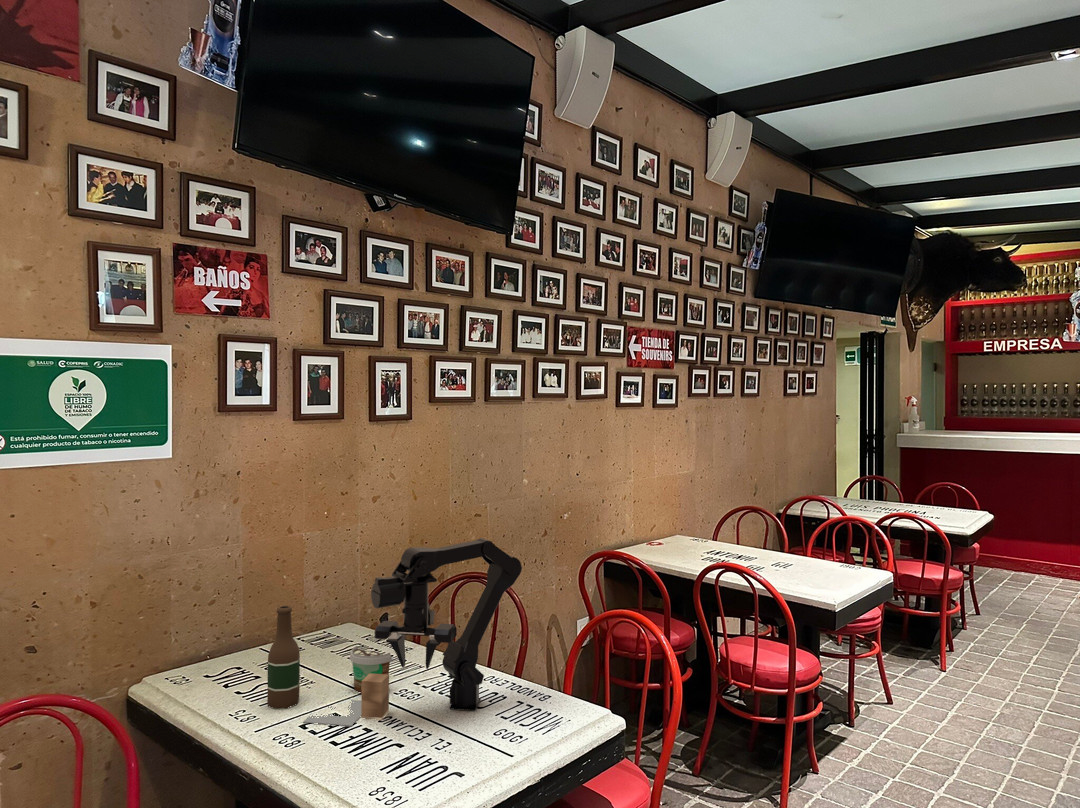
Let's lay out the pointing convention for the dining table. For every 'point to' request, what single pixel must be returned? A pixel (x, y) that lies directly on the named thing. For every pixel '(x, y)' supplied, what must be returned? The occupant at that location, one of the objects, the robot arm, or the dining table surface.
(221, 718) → the dining table surface
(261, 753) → the dining table surface
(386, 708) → the block
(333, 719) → the mat
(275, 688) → the beer bottle
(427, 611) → the robot arm
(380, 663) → the food container
